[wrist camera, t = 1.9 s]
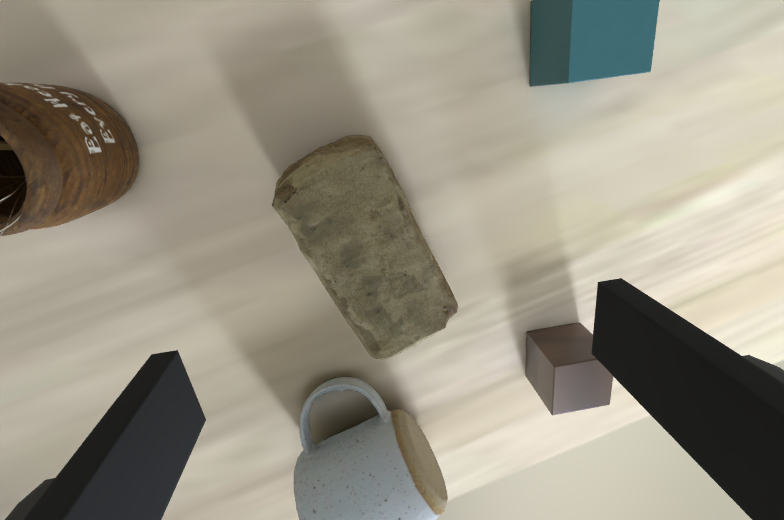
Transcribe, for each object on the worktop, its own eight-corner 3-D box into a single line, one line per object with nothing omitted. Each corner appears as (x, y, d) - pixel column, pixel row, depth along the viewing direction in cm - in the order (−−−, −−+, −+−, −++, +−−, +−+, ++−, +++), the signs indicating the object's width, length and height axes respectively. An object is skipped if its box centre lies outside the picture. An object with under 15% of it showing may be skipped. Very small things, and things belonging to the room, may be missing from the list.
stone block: (372, 325, 26) (378, 373, 21) (272, 172, 22) (252, 190, 17) (449, 285, 25) (472, 325, 21) (363, 120, 21) (368, 124, 16)
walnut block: (525, 376, 29) (552, 416, 25) (526, 331, 28) (554, 366, 24) (576, 367, 29) (610, 405, 26) (579, 322, 28) (616, 355, 24)
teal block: (529, 86, 21) (568, 83, 18) (530, 1, 20) (573, -22, 16) (598, 77, 22) (651, 71, 18) (605, -8, 20) (664, -33, 16)
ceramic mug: (439, 444, 31) (467, 546, 23) (349, 489, 31) (351, 601, 24) (372, 348, 27) (381, 435, 20) (272, 402, 27) (246, 505, 20)
